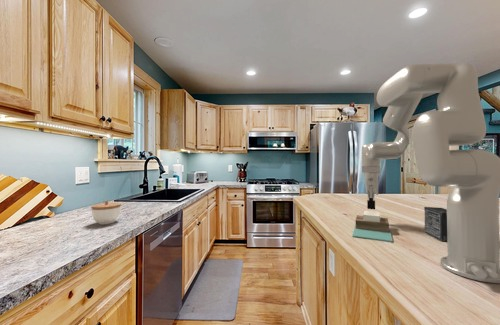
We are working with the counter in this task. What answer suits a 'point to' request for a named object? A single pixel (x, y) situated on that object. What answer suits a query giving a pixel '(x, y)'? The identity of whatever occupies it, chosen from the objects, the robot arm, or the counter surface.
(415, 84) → the robot arm
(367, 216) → the cream tile
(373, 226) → the walnut riser
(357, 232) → the teal mat
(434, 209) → the small box
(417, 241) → the counter surface
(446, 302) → the counter surface
